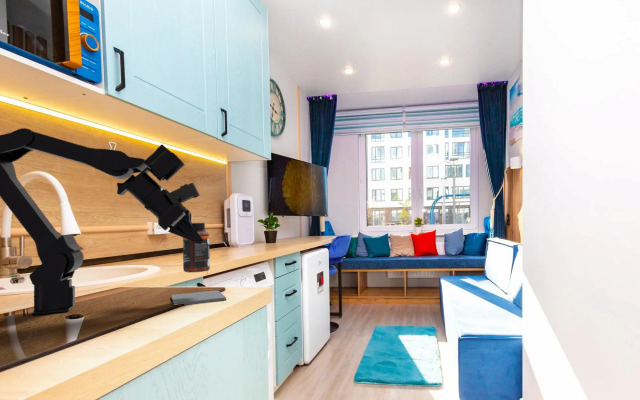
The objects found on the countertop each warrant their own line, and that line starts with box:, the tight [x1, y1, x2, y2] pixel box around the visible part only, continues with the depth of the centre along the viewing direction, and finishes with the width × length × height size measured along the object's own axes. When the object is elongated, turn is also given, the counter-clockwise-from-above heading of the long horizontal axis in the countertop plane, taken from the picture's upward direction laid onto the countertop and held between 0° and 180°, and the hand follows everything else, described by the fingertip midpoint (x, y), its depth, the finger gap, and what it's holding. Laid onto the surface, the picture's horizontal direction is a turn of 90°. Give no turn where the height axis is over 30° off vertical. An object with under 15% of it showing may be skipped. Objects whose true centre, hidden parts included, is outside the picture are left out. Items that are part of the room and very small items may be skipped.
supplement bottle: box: [182, 222, 211, 273], centre depth 92 cm, size 6×6×11 cm
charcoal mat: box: [170, 290, 227, 306], centre depth 91 cm, size 11×11×1 cm
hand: (202, 242), depth 92 cm, fingers closed on supplement bottle, 6 cm apart
